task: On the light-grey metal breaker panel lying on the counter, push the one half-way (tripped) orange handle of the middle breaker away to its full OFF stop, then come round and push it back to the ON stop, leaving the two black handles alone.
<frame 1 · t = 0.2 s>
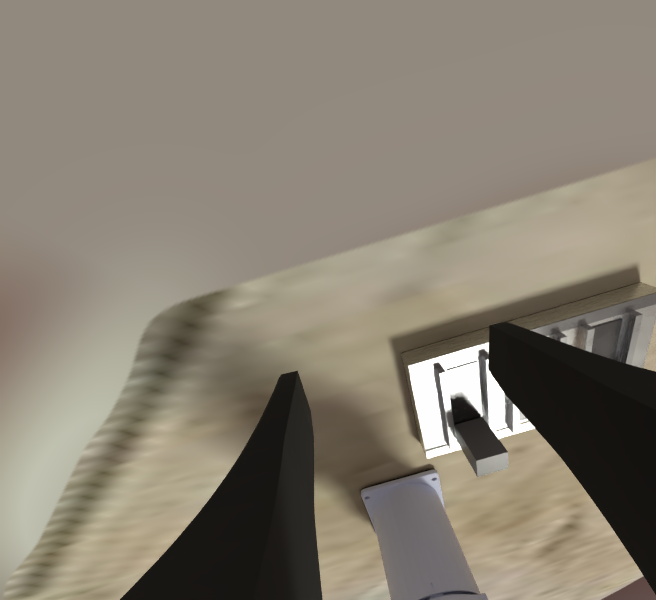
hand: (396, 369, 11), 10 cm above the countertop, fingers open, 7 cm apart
breaker a: (480, 445, 24), point 3 cm above the countertop, slide at 0.0 cm
panel: (519, 371, 25), on the countertop
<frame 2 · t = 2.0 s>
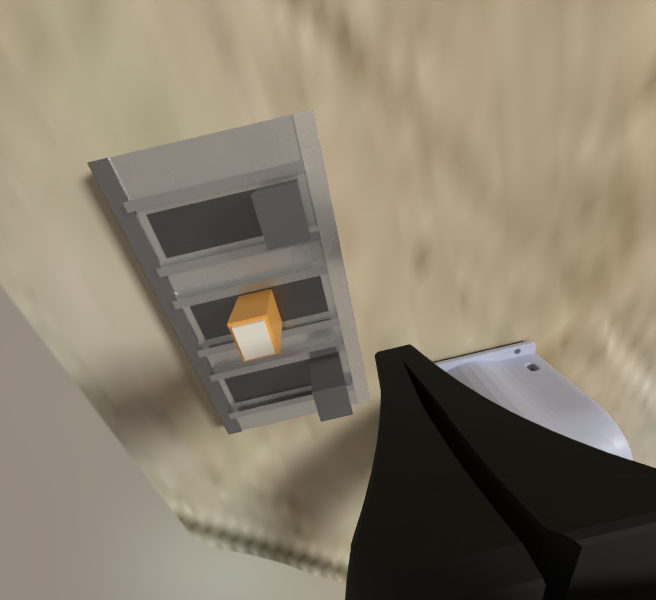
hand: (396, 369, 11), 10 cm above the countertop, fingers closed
breaker c: (283, 212, 14), point 3 cm above the countertop, slide at 0.0 cm
breaker a: (330, 384, 19), point 3 cm above the countertop, slide at 0.0 cm
panel: (263, 298, 20), on the countertop
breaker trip: (257, 324, 17), point 3 cm above the countertop, slide at 3.0 cm
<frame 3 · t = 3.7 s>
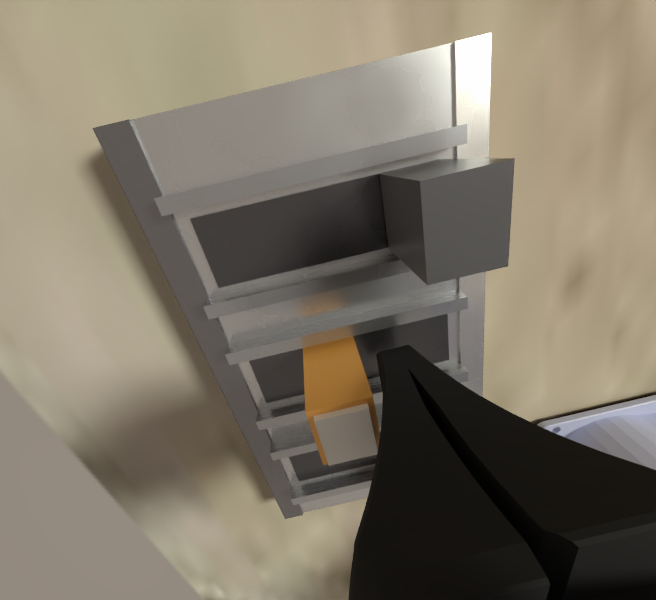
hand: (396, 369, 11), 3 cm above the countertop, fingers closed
breaker c: (436, 214, 8), point 3 cm above the countertop, slide at 0.0 cm
panel: (346, 338, 14), on the countertop
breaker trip: (339, 396, 10), point 3 cm above the countertop, slide at 3.8 cm, touching gripper
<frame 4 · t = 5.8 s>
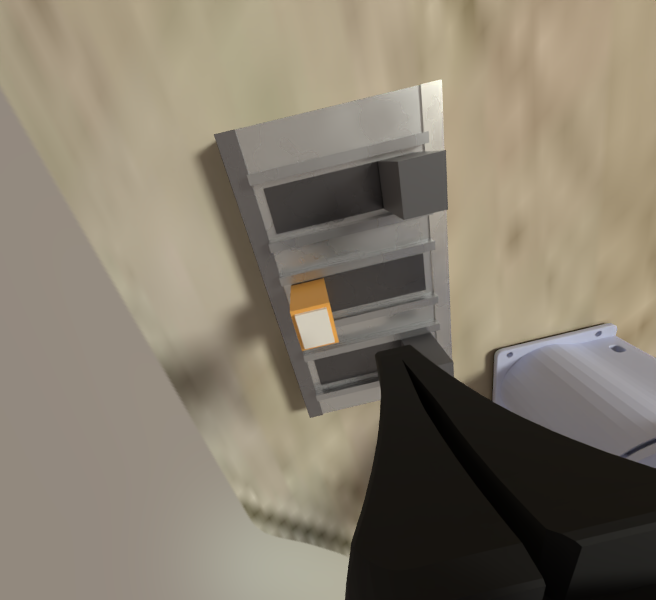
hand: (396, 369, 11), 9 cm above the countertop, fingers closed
breaker c: (410, 183, 14), point 3 cm above the countertop, slide at 0.0 cm
breaker a: (426, 364, 19), point 3 cm above the countertop, slide at 0.0 cm
panel: (355, 278, 20), on the countertop
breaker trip: (313, 313, 16), point 3 cm above the countertop, slide at 6.1 cm
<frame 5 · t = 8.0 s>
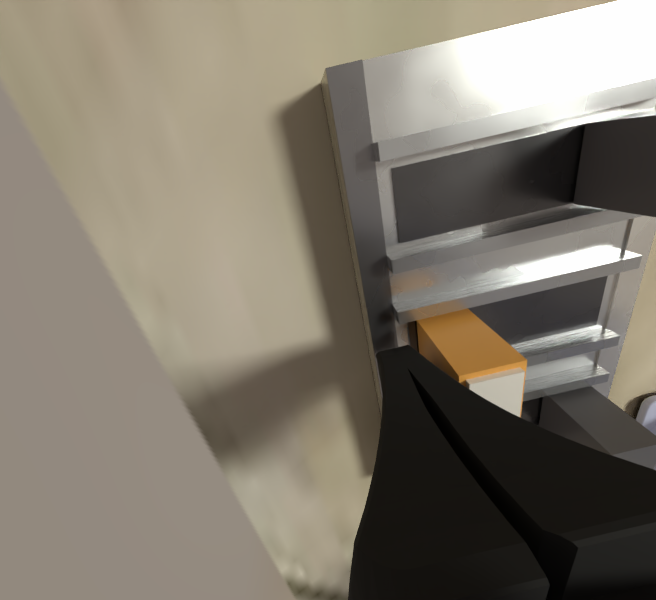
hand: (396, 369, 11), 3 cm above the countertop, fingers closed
breaker a: (591, 433, 13), point 3 cm above the countertop, slide at 0.0 cm
panel: (483, 305, 13), on the countertop
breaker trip: (465, 366, 10), point 3 cm above the countertop, slide at 5.7 cm, touching gripper
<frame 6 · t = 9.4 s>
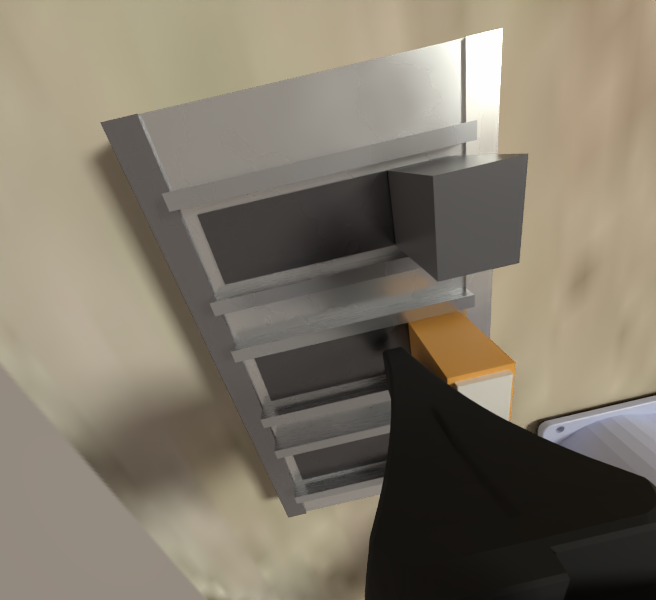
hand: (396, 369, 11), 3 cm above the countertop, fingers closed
breaker c: (445, 211, 8), point 3 cm above the countertop, slide at 0.0 cm
panel: (351, 336, 14), on the countertop
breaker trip: (455, 368, 10), point 3 cm above the countertop, slide at -0.1 cm, touching gripper
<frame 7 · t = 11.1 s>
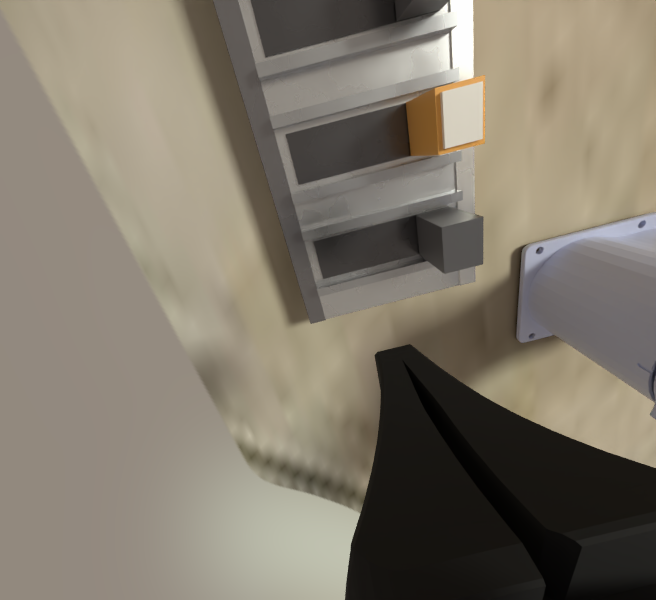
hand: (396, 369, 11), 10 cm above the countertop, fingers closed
breaker a: (447, 238, 16), point 3 cm above the countertop, slide at 0.0 cm
panel: (361, 142, 16), on the countertop
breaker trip: (443, 121, 13), point 3 cm above the countertop, slide at -0.1 cm
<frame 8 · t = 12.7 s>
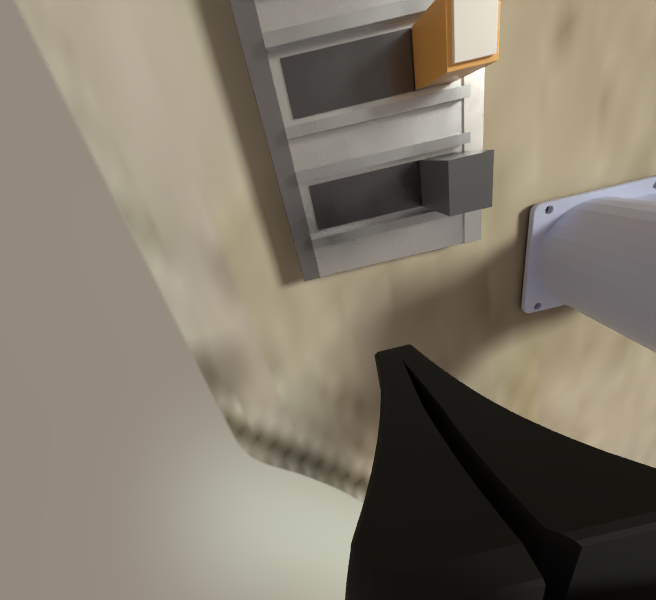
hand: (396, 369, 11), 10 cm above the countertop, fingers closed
breaker a: (453, 181, 15), point 3 cm above the countertop, slide at 0.0 cm
panel: (363, 78, 15), on the countertop
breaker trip: (452, 41, 12), point 3 cm above the countertop, slide at -0.1 cm
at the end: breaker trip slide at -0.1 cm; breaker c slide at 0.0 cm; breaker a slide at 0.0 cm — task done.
